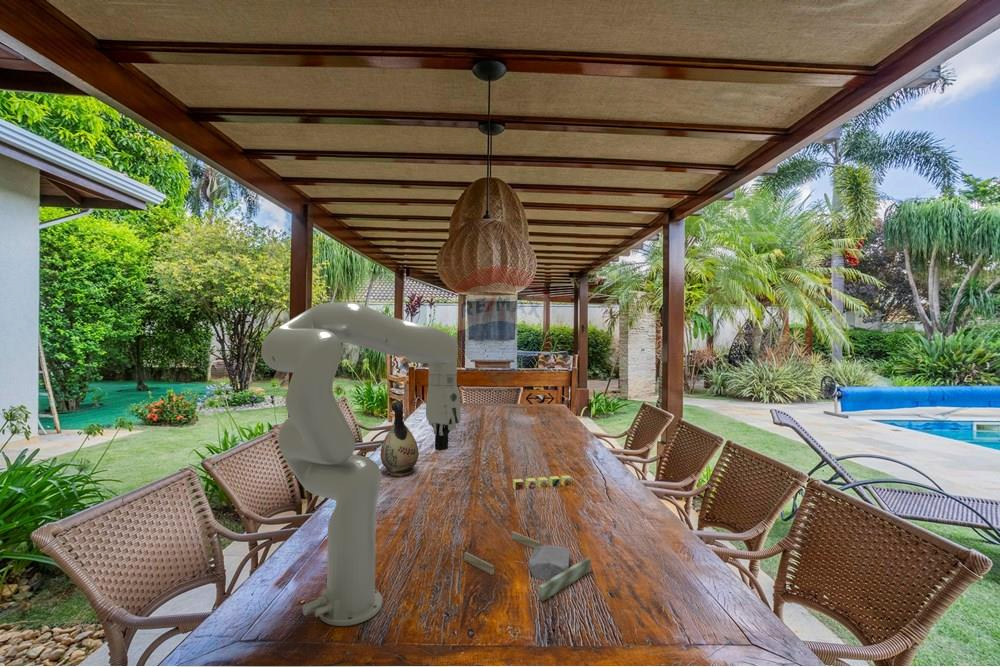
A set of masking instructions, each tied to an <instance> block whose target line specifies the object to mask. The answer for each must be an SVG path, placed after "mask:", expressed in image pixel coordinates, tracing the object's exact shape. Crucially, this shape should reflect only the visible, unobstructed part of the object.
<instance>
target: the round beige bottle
mask: <svg viewBox="0 0 1000 667" xmlns="http://www.w3.org/2000/svg"><path fill="white" fill-rule="evenodd" d="M403 408H404V404H403V402H400V401H396V402H394V403H392V405H391V410H392V412H393V411H394V420H393V424H392V426H391V427H390V429H389V430H388V432H387V434H386V435H385V437H384V439H383V441H382V444H381V448H380V455H379V456H380V461H381V464H382V465H383V466H384V467H385V469H386V470H387V471H388V473H389V475H390V476H394V477H395V476H396V477H402V476H406V475H409V474H412V472H413V468H414V467H415V466H416V464H417V462H418V460H419V453H420V452H419V446H418V443H417V440H416V439H415V436H414V435H413V434H412V432H411V430H409V427H408V426H407V425H406V424H405V421H404V412H403V411H404V410H403Z"/></svg>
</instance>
